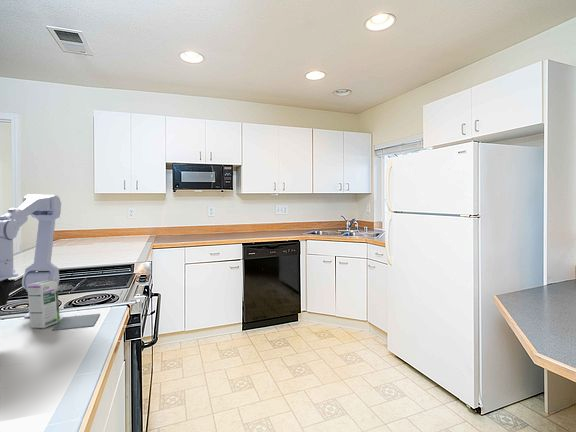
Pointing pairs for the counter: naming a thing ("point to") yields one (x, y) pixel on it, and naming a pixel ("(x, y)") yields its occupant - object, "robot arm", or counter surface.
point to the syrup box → (43, 304)
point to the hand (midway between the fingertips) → (1, 305)
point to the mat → (76, 322)
